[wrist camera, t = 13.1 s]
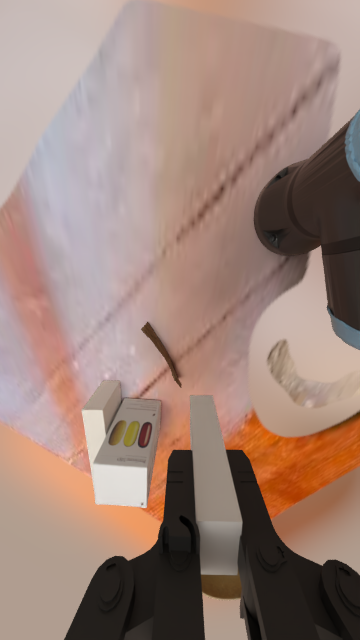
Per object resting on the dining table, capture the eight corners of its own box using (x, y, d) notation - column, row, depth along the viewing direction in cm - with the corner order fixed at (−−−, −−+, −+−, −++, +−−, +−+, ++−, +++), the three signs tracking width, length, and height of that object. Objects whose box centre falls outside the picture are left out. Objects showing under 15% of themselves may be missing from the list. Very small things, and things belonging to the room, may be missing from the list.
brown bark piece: (142, 324, 42) (136, 331, 37) (150, 320, 42) (145, 326, 37) (174, 378, 45) (173, 391, 40) (182, 375, 45) (182, 387, 40)
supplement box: (161, 399, 46) (150, 468, 30) (160, 430, 49) (149, 509, 32) (123, 397, 46) (90, 464, 30) (123, 428, 49) (93, 506, 32)
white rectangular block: (119, 380, 45) (102, 410, 36) (126, 453, 51) (113, 496, 41) (103, 380, 45) (81, 409, 36) (111, 453, 51) (95, 495, 41)
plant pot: (178, 491, 54) (176, 579, 38) (216, 461, 51) (230, 544, 35) (215, 517, 56) (227, 611, 40) (253, 490, 53) (281, 580, 38)
